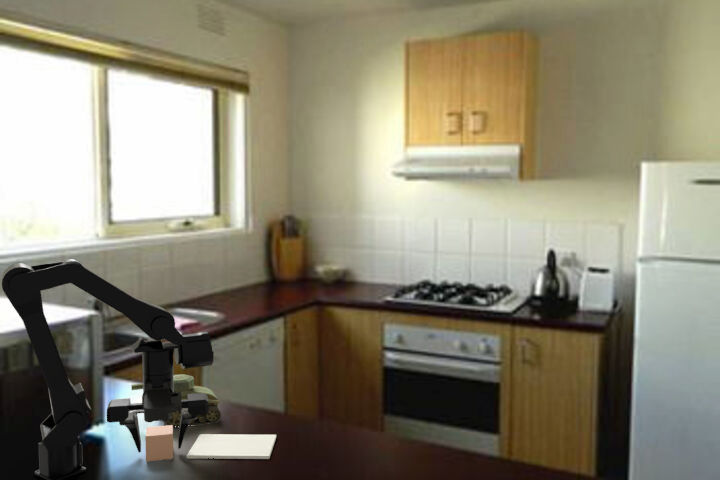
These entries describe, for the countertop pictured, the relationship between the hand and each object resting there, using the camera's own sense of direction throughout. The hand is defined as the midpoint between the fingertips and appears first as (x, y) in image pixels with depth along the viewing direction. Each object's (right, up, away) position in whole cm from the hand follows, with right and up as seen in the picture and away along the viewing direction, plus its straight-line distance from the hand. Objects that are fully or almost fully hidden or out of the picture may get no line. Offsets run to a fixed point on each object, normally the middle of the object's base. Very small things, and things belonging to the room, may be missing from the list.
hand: (159, 449), depth 132 cm
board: (+14, -1, +4) cm, 14 cm away
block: (0, -1, 0) cm, 1 cm away
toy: (-2, 0, +19) cm, 19 cm away
